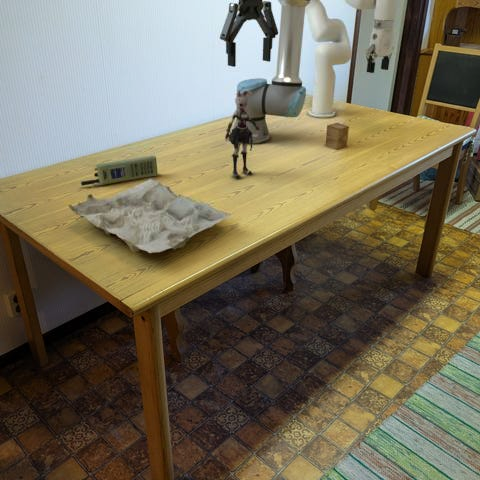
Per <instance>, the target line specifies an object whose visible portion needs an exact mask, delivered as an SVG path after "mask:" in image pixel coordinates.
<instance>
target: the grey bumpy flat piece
mask: <svg viewBox="0 0 480 480" xmlns="http://www.w3.org/2000/svg"><path fill="white" fill-rule="evenodd" d="M68 208H69V209H70V210H71V211H72V213H74V214H75V215H78V216H79V218H80V219H83V218H85V219H86V220H87V221H89V222H91V223H92V224H93V225H94V226H95V227H96V228H98V229H101V230H103V231H104V232H105V233H106V234H107V235H108V236H110V235H111V234H113V235H116V236H117V237H118V238H120V239H121V240H123V241H124V243H125V244H127V246H128V248H129V249H130V251H131V252H132V253H133V252H134V253H136V252H139V251H141V250H142V251H145V252H147V253H149V254H152V253H162V252H164V251H166V250H169V249H173V250H177V249H178V248H181V249H182V248H184V247H185V245H186V243H187V242H188V241H190V239H191V238H192V237H193V236H194V235H196V234H199V233H200V232H202V231H204V230H206V229H208V228H213V226H215V224H219V222H222V221H223V220H224V219H226V218H229V217H230V216H232V213H227V212H226V211H225V212H224V211H222V210H219V209H216V208H214V207H213V206H212V205H211V204H210V203H205V202H204V201H196V200H194V199H192V198H189V196H184V195H181V194H178V195H177V194H175V193H174V192H173V190H172V189H171V188H170V186H167V185H163V184H162V183H161V182H160V181H159V180H156V179H153V178H149V179H147V180H145V181H143V182H141V183H139V184H136V185H134V186H133V187H130V188H129V189H125V190H123V191H121V192H120V193H117V194H115V195H113V196H111V197H109V198H101V199H99V198H96V197H94V196H93V194H88V195H87V197H86V200H85V201H82V202H80V201H79V202H78V203H77V205H72V204H68Z"/></svg>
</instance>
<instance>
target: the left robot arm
mask: <svg viewBox="0 0 480 480" xmlns="http://www.w3.org/2000/svg"><path fill="white" fill-rule="evenodd" d="M277 1H278V3H279V4H280V5H281V10H280V21H279V29H278V27H277V23H276V19H275V17H274V13H273V10H272V2H271V1H269V0H268V1H266V0H264V1H263V0H238V3H234V2H229V4H228V12H227V15H226V18H225V21H224V24H223V26H222V30H221V32H220V35H219V39H220V40H221V41H224V42H225V54H226V55H227V66H228V67H233V68H235V67H236V66H237V65H236V62H237V58H236V57H237V56H236V55H237V42H235V39H236V38H237V36H238V34H239V33H240V30H241V29H242V27H243V25H244V24H245V23H246V22H247V21H252V20H253V21H256V22H257V24H258V26H259V27H260V30H261V31H262V33H263V35H264V36H265V37H264V36H263V38H262V61H264V62H269V63H270V62H271V59H272V58H271V56H272V49H273V39H275V38H276V36H278V46H277V48H278V49H277V59H276V73H275V76H274V77H273V78H271V83H268V80H267V79H266V78H262V77H261V78H260V77H259V78H257V77H256V78H249V79H243V80H241V81H239V82H238V83H237V85H236V91H237V90H239V89H241V88H243V86H244V88H243V89H242V90H241V91H240V95H242V93H243V91H244V90H246V89H248V90H250V91H251V93H252V95H250V94H249V93H248V92H247V94H246V97H247V99H248V101H247V107H246V108H245V109H246V110H247V112H248V114H249V116H250V118H252V120H253V121H255V122H256V125H257V126H258V128H259V129H260V133H258V132H257V131H256V128H255V126H254V125H253V124H252V123H250V122H249V120H247V121H246V125H247V126H248V129H249V130H250V131H251V132H252V133H253V134H252V136H253V138H252V140H253V142H252V145H257V144H262V143H266V142H268V141H269V140H270V130H269V127H268V124H267V121H266V116H273V117H274V116H275V117H283V118H286V119H287V118H297V117H298V116H300V114H301V113H302V111H303V108H304V105H305V102H306V96H307V88H306V87H305V86H303V81H302V79H301V77H300V70H301V69H300V67H301V59H302V58H301V56H302V48H303V36H304V28H305V27H304V26H305V18H306V17H305V15H306V12H305V7H306V6H307V5H308V4H309V3H310V0H277ZM235 96H237V92H236V93H235ZM238 108H239V107H237V106H236V110H238ZM234 122H235V123H234V125H233V128H232V129H234V128H235V127H236V126H237V125H238V123H239V122H238V121H237V118H235V121H234ZM253 143H254V144H253ZM241 144H242V142H241ZM248 145H250V139H249V144H248Z"/></svg>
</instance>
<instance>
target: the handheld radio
mask: <svg viewBox="0 0 480 480" xmlns="http://www.w3.org/2000/svg"><path fill="white" fill-rule="evenodd" d="M157 164H158V163H157V156H156V155H147V156H141V157H140V156H139V157H134V158H127V159H121V160H115V161H108V162H101V163H96V164H93V167H94V168H93V171H97V172H95V173H94V174H93V175H94V177H96V179H90V180H83V181H82V180H81V181H80V185H81V186H88V185H93V184H94V185H96V186H97V187H98V186H99V187H100V186H105V185H109V184H115V183H121V182H128V181H134V180H139V179H144V178H151V177H156V176H158V175H159V174H158V165H157Z"/></svg>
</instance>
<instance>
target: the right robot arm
mask: <svg viewBox="0 0 480 480" xmlns="http://www.w3.org/2000/svg"><path fill="white" fill-rule="evenodd" d="M343 1H344V3H346V4H347V5H348V6H350V7H352V8H354V9H356V10H374V16H373V24H372V32H371V35H370V41H369V45H368V48H367V50H365V55H366V57H365V58H366V62H367V64H366V73H370V74H374V73H375V68H376V62H375V61H376V60H377V58H381V64H380V69H381V70H383V71H388V70H389V67H390V60H391V58H392V57H391V56H392V55H393V51H394V36H395V33H394V24H395V16H396V8H397V1H398V0H343ZM305 15H306V17H307V21H308V27H309V30H310V33H311V36H312V39H313V40H314V42H316V43H321V44H319V45H317V46H316V47H315V49H314V52H313V59H314V60H313V61H314V81H313V93H312V94H313V95H312V106H311V109H309V110H308V112H307V113H308V115H309V116H310V117H315V118H320V119H321V118H322V119H323V118H324V119H326V118H327V119H328V118H333V117H335V116H336V111H334V110H333V108H334V97H335V88H336V87H335V86H336V79H337V78H336V71H335V69H334V66H338V65H346V64H347V63H349V62H350V61H351V60H352V59H351V58H352V55H353V54H352V53H353V52H352V51H353V50H352V46H351V42H350V38H349V35H348V30H347V26H346V24H345V23H344V21H343V20H342V19H341V18H340V19H339V18H329V16H328V13H327V9H326V7H325V5H324V4H323V2H322V1H321V0H310V3H309V4H308V5H307V6H306V7H305Z"/></svg>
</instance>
